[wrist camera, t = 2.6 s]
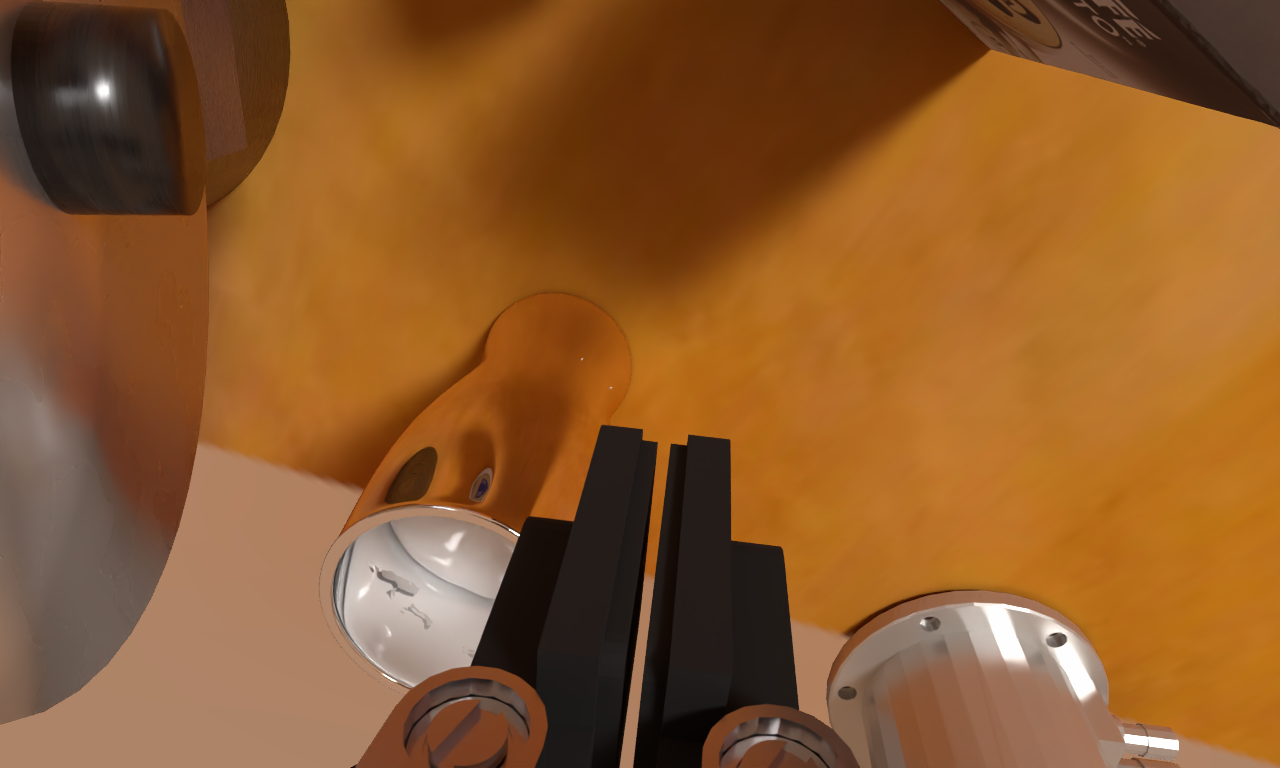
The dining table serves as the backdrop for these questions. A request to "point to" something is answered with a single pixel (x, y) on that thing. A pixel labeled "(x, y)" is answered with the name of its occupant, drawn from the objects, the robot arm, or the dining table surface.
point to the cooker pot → (237, 82)
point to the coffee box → (1147, 45)
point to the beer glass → (472, 489)
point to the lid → (94, 328)
